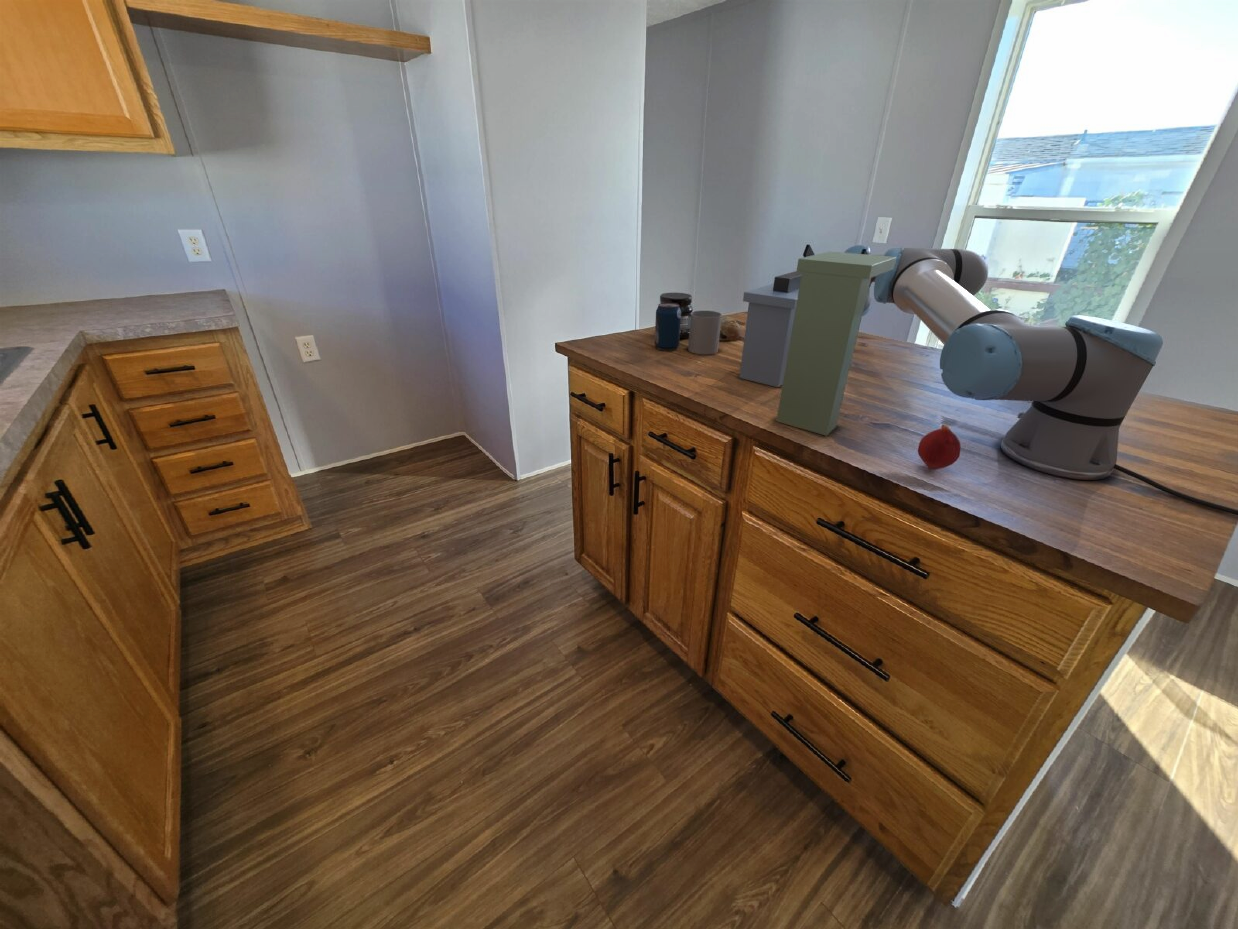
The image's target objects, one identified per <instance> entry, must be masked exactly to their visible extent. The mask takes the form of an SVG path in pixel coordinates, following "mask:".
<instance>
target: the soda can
mask: <svg viewBox="0 0 1238 929" xmlns="http://www.w3.org/2000/svg"><path fill="white" fill-rule="evenodd" d="M657 305H658V306H657V308H656V310H655V327H654V329H655V330H654V346H655V347H656V349H657V350H659V351H665V352H669V351H671V352H672V351H675V350H677V348H678V347H679V345H680V339H679V338H680V322H681V310H680V307H679V304H677V303H660V302H659V303H658V304H657Z"/></svg>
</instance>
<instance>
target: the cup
mask: <svg viewBox="0 0 1238 929" xmlns="http://www.w3.org/2000/svg"><path fill="white" fill-rule="evenodd" d="M721 317H723V314H722V313H720V312H719V311H715V310H693V311H692V312H691V319H690V332H689V337H688V347H687V350H688V351H689V352H690V353H693V354H695V355H713V354H717V353H718V352H719V345H720V340H719V336H720V326H721Z"/></svg>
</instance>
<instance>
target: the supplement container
mask: <svg viewBox="0 0 1238 929" xmlns="http://www.w3.org/2000/svg"><path fill="white" fill-rule="evenodd" d="M692 302H693V295H691V294H689V293H686V292H664V293H661V294H660V295H659V304H660V303H677V304H679V307H680V310H681V322H680V338H679V340H684V339H687V338H689V332H690V319H691V312H694V307H693V305H692Z"/></svg>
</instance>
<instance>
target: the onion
mask: <svg viewBox="0 0 1238 929" xmlns="http://www.w3.org/2000/svg"><path fill="white" fill-rule="evenodd" d="M961 447H962V446H961V442H960V440H959V438H958V437H957V435H956V434H955V433H954V432H953V431H952V430H951V429H950V427H949V425H947V424H945V423H944V424H942V425H941V427H940V428H939V429H934V430H932V431H931V432H928V433H926V434H925V435H924V436H923V437H922V438H921V440H920V441H919V443H918V447H917V454H918V457H919V458H920V459H921V461H922V462H923V463H924V465H925V466H926V467H927V469H929V470H932V471H934V470H940V469H945V468H947V467H949V466H952V465H953V464H954V463H956V462H957V461H958V459H959V457H960V454H961V450H962V448H961Z"/></svg>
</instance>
